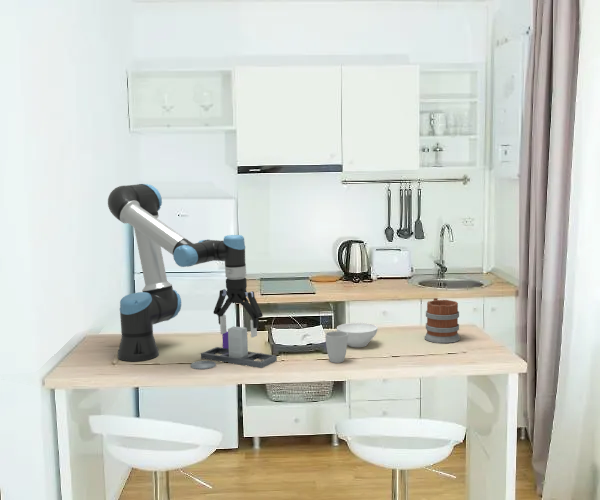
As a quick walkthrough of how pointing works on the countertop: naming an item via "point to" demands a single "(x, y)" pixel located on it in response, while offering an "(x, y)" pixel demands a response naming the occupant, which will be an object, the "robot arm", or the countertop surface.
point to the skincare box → (237, 342)
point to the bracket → (225, 340)
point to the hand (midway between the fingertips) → (238, 334)
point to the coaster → (203, 364)
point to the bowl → (358, 333)
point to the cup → (336, 345)
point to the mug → (442, 321)
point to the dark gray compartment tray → (244, 360)
